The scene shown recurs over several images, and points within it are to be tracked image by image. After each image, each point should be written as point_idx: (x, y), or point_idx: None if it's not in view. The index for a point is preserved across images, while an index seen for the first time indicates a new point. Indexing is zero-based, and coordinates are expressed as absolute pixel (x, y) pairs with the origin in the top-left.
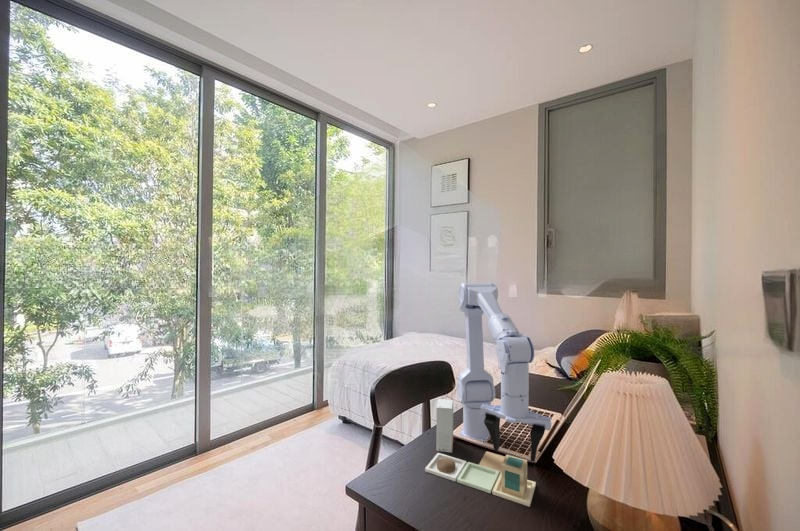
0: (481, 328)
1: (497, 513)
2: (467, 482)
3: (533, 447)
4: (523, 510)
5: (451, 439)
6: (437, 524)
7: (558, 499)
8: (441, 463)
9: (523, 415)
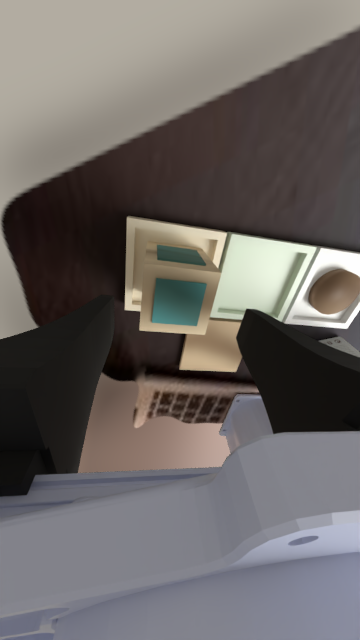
0: None
1: (209, 159)
2: (290, 243)
3: (77, 319)
4: (143, 203)
5: None
6: None
7: (70, 282)
8: (349, 291)
9: None
